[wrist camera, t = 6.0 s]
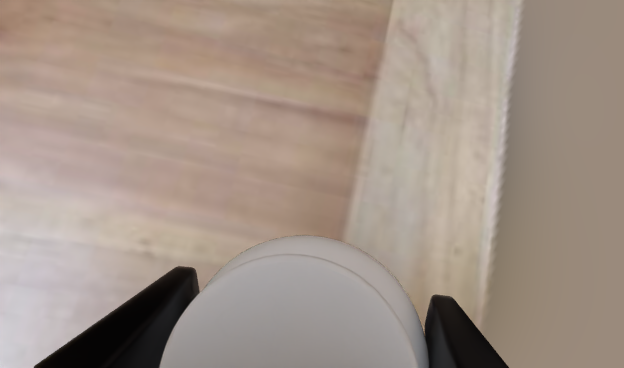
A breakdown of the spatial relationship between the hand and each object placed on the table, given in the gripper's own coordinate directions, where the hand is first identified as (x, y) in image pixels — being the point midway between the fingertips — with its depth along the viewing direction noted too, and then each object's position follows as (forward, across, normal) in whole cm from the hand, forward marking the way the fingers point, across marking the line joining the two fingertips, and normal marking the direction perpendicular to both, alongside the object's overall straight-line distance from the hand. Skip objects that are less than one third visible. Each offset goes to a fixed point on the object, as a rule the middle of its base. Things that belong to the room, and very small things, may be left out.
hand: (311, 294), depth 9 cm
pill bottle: (+4, 0, +6) cm, 7 cm away
